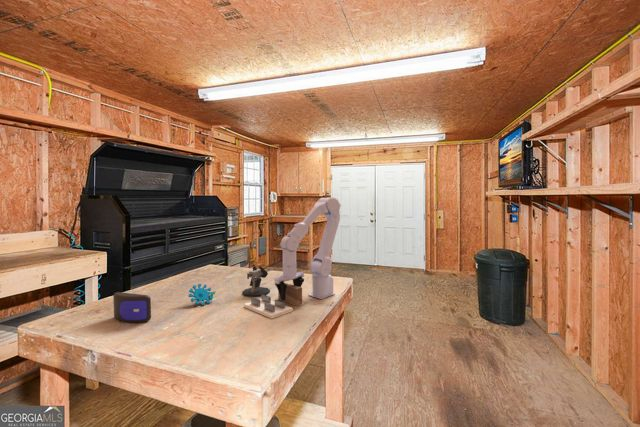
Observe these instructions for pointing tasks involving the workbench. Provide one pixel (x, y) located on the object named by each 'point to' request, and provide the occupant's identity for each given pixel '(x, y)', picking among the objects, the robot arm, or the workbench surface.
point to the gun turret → (256, 282)
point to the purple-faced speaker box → (132, 307)
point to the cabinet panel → (265, 312)
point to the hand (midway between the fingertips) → (289, 297)
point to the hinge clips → (268, 303)
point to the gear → (201, 294)
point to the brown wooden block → (292, 295)
